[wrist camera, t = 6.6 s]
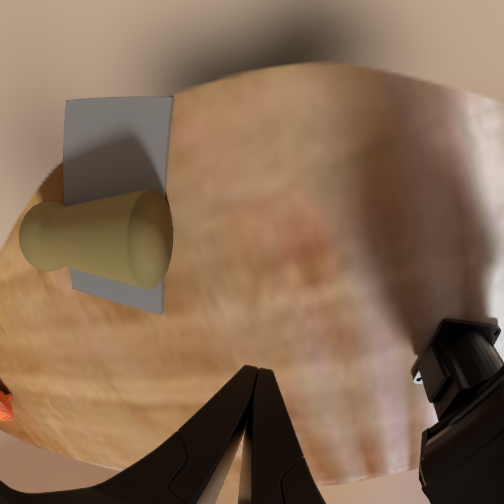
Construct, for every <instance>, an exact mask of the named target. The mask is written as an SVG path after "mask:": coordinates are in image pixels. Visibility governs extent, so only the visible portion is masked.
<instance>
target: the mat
mask: <svg viewBox="0 0 504 504" xmlns="http://www.w3.org/2000/svg"><path fill="white" fill-rule="evenodd" d="M173 100H174V97H107V98H90V99H75V100H66V108H65V123H64V145H63V146H64V148H63V187H64V205H65V206H67V207H68V206H72V205H76V204H80V203H85V202H89V201H94V200H98V199H103V198H107V197H112V196H117V195H122V194H127V193H132V192H137V191H142V190H147V189H154V190H158V191H159V192H160V193H161V194H162V195H163V196H164V198H165V193H166V176H167V162H168V150H169V138H170V128H171V118H172V109H173ZM70 273H71V280H72V286H73V289H75V290H78V291H81V292H84V293H87V294H90V295H93V296H97V297H100V298H103V299H106V300H110V301H113V302H116V303H120V304H123V305H127V306H130V307H134V308H137V309H141V310H144V311H148V312H152V313H155V314H159V315H162V314H163V280H162V281H161V282H160V284H159V285H158V286H157V287H155V288H153V289H151V290H148V289H144V288H141V287H137V286H133V285H129V284H126V283H122V282H118V281H115V280H111V279H107V278H104V277H100V276H97V275H93V274H90V273H86V272H83V271H80V270H76V269H73V268H70Z"/></svg>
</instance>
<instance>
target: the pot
mask: <svg viewBox="0 0 504 504" xmlns="http://www.w3.org/2000/svg"><path fill="white" fill-rule="evenodd" d="M11 399H12V394H11V393H9V394H8V395H5V394H4V393H3V392H2V391H1V390H0V421H11V420H12V419H13V410H12V406H11V403H10V401H11Z"/></svg>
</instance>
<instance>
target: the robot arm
mask: <svg viewBox="0 0 504 504" xmlns="http://www.w3.org/2000/svg"><path fill="white" fill-rule="evenodd" d="M447 324H448V325H447ZM445 325H447V326H446V327H445ZM495 331H496V332H495ZM500 332H501V329H500V328H499V326H497V325H491V324H483V323H476V322H469V321H461V320H454V319H444V320H443V321H442V322H441V323H440V325H439V327H438V330H437V332H436V334H435V336H434V338H433V340H432V342H431V343H430V344H429V346H428V348H427V350H426V352H425V354H424V356H423V358H422V360H421V361H420V363H419V365H418V368H417V370H416V372H415V374H414V375H413V381H414V383H416V384H423V385H424V388H425V391H426V394H427V397H428V400H429V402H430V403H433V404H434V408H435V411H436V414H437V418H438V421H439V422H437V423H436V424H435V425H433V426H432V427H431V428H428V429H426V430H425V431H423V432H422V442H421V455H420V464H419V465H420V466H419V480H420V482H421V485H422V491H423V492H424V494H425V495H426V496H427V498H428V499H429V501H430V503H431V504H504V362H503V360H502V359H501V357H500V355H499V354H498V352H497V350H496V349H495V347H494V344H495V342H496V340H497V338H498V337H499V335H500ZM257 373H258V374H257ZM419 377H420V378H419ZM247 418H248V419H247ZM245 427H246V428H245ZM244 430H245V433H244ZM243 434H244V441H243V452H242V463H241V474H240V485H239V496H238V504H326V503H325V501H324V499H323V497H322V496H321V494H320V492H319V490H318V488H317V486H316V484H315V482H314V480H313V477H312V475H311V473H310V470H309V468H308V465H307V463H306V460H305V458H304V455H303V452H302V449H301V447H300V444H299V441H298V439H297V436H296V433H295V430H294V428H293V425H292V422H291V419H290V417H289V414H288V411H287V408H286V406H285V403H284V400H283V397H282V395H281V392H280V389H279V386H278V383H277V381H276V378H275V375H274V372H273V371H272V370H270V369H265V368H259V369H258V368H257V367H255V366H250V365H244V366H243V367H242V368H241V369H240V370H239V371H238V372H237V373H236V374H235V375H234V376H233V377H232V378H231V379H230V380H229V381H228V382H227V383H226V384H225V385H224V386H223V387H222V388H221V389H220V390H219V391H218V392H217V393H216V394H215V395H214V396H213V397H212V398H211V399H210V400H209V401H208V402H207V403H206V404H205V405H204V406H203V407H202V408H201V409H200V410H199V411H197V412H196V413H195V414H194V415H193V416H192V417H191V418H190V419H189V420H188V421H187V422H186V423H185V424H184V425H183V426H182V427H180V428H179V429H178V431H176V432H175V433H174V434H173V435H172V436H170V437H169V438H168V439H167V440H166V441H165V442H164V443H162V444H161V445H160V446H159V447H158V448H156V449H155V450H154V451H152V452H151V453H149V454H148V455H146V456H145V457H144V458H142V459H141V460H139V461H137V462H136V463H134V464H133V465H131V466H130V467H128V468H126V469H125V470H123V471H122V472H120V473H118V474H117V475H115V476H113V477H112V478H110V479H108V480H106V481H104V482H102V483H100V484H97V485H95V486H91V487H87V488H80V489H73V490H65V491H56V492H44V493H24V492H19V491H16V490H14V489H12V488H10V487H8V486H7V485H6V484H5V483H3V482H2V481H1V480H0V504H215V502H216V500H217V498H218V495H219V493H220V491H221V488H222V486H223V484H224V481H225V479H226V477H227V474H228V472H229V469H230V467H231V464H232V462H233V460H234V457H235V455H236V452H237V450H238V447H239V445H240V442H241V440H242V437H243Z"/></svg>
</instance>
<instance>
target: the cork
mask: <svg viewBox="0 0 504 504" xmlns="http://www.w3.org/2000/svg"><path fill="white" fill-rule="evenodd" d="M19 243H20V247H21V251H22V253H23V255H24V256H25V258H26V260H27V261H28V262H29V263H30V264H31V265H32V266H34V267H35V268H37V269H40V270H44V271H53V270H58V269H62V268H63V267H64V266H66V267H70V268H73V269H76V270H80V271H83V272H86V273H90V274H93V275H97V276H100V277H104V278H107V279H111V280H115V281H118V282H122V283H126V284H129V285H133V286H137V287H141V288H144V289H148V290H151V289H153V288H155V287H157V286H158V285H159V284H160V282H161V281H162V280H163V278H164V276H165V274H166V272H167V270H168V266H169V263H170V259H171V254H172V246H173V226H172V217H171V213H170V209H169V206H168V203H167V201H166V200H165V198H164V196H163V195H162V194H161V193H160V192H159V191H158V190H154V189H147V190H142V191H137V192H132V193H127V194H122V195H117V196H112V197H107V198H103V199H98V200H94V201H89V202H85V203H80V204H76V205H72V206H68V207H67V206H65V205H64V204H62V203H59V202H56V201H44V202H42V203H39V204H37V205H35V206H33V207H32V208H31V209H30V210H29V211H28V212H27V213H26V215H25V217H24V219H23V221H22V223H21V226H20V231H19Z"/></svg>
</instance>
